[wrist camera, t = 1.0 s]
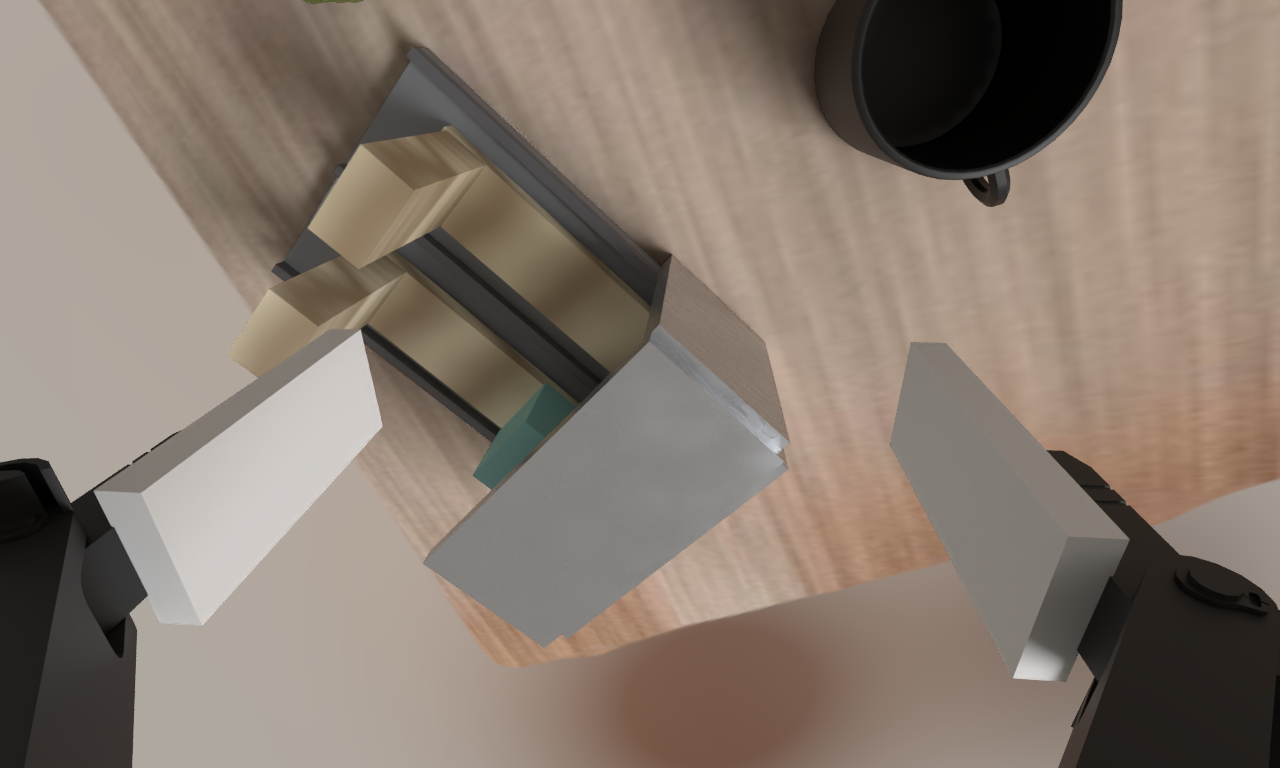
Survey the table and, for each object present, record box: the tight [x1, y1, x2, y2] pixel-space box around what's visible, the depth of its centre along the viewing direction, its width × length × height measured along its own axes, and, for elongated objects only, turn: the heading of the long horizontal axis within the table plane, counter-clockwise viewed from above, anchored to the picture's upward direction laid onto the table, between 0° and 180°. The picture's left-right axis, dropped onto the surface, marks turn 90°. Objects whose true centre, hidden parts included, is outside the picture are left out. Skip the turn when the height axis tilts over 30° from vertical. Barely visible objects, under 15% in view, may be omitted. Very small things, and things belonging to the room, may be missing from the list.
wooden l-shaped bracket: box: [227, 250, 579, 429], centre depth 34 cm, size 20×4×10 cm, turn 48°
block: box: [473, 382, 576, 490], centre depth 37 cm, size 5×5×5 cm
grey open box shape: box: [423, 255, 790, 648], centre depth 35 cm, size 9×18×13 cm, turn 138°
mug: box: [815, 0, 1123, 207], centre depth 27 cm, size 9×12×9 cm
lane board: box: [272, 46, 661, 442], centre depth 37 cm, size 24×16×2 cm, turn 48°
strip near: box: [308, 126, 651, 372], centre depth 31 cm, size 20×4×10 cm, turn 48°
